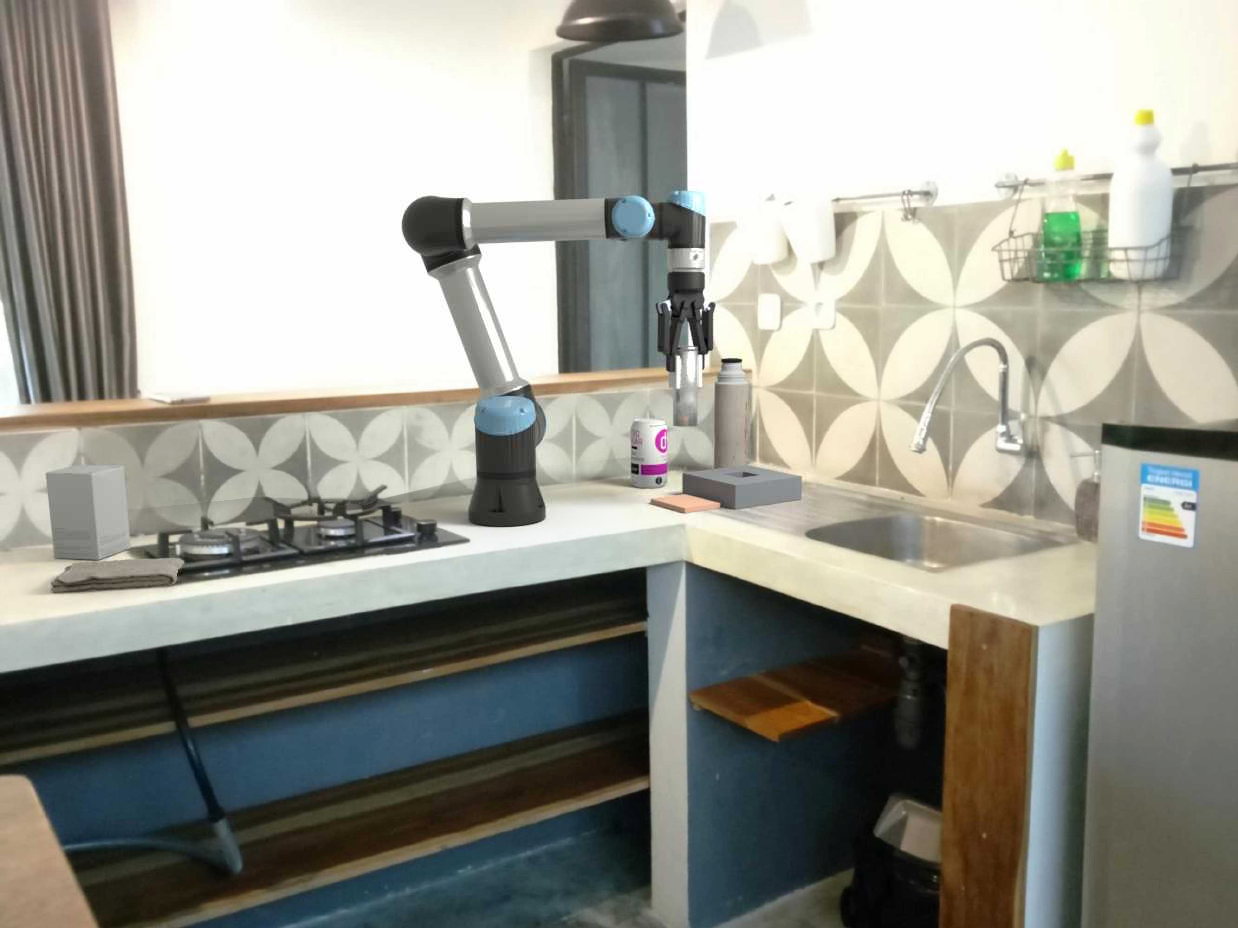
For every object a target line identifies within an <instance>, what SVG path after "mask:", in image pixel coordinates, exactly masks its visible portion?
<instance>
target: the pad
mask: <svg viewBox="0 0 1238 928" xmlns="http://www.w3.org/2000/svg"><path fill="white" fill-rule="evenodd" d="M651 504H652V505H654V506H657V507H662V508H665V509H668V510H672V511H676V512H680V513H683V514H689V513H695V512H701V511H708V510H715V509H721V506H720V503H718V502H714V501H710V500H706V499H702V498H698V497H695V496H691V495H687V494H677V495H676V494H674V495H668V496H663V497H661V496H660V497H654V498H653V497H652V498H650V505H651Z"/></svg>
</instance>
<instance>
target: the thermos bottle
mask: <svg viewBox="0 0 1238 928" xmlns="http://www.w3.org/2000/svg"><path fill="white" fill-rule="evenodd" d="M720 362H721V368H720V371H718V372H717V377H716V378H717V381H714V408H713V409H714V411H713V412H714V414H713V415H714V423H713V428H714V429H713V430H714V431H713V432H714V434H713V435H714V444H713V445H714V447H713V469H718V468H726V467H734V466H742V465H749V464H748V463H749V461H748V459H749V397H750V396H749V395H750V394H749V393H750V392H749V388H750V386H749V385H750V383H749V382H748V381H747V373H746V371H744V370H743V364H742V363H743V358H738V357H737V358H736V357H727V358H721V360H720Z"/></svg>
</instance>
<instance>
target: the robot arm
mask: <svg viewBox="0 0 1238 928" xmlns="http://www.w3.org/2000/svg"><path fill="white" fill-rule="evenodd" d="M706 213H707V212H706V196H705V195H704V193H703V192H701V191H697V190H680V191H679V190H675V191H670V192H668V194H667V199H666V201H659V202H657V201H656V202H653V201H651V202H649V201H648V200H646V199H645V198H644V197H641V196H639V195H626V196H624V197H610V198H609V197H608V198H604V197H603V198H602V197H600V198H580V199H579V198H577V199H576V198H575V199H546V200H543V199H542V200H521V201H520V200H518V201H496V202H495V201H494V202H493V201H492V202H473V201H471V199H469V198H468V197H445V196H444V197H443V196H436V195H426V196H421V197H419V198H417V199H415V200H413V201H412V202H411V203H410V204H409V205H408V206H407V207H406V209H405V210H404V213H403V215H402V219H401V232H402V235H403V238H404V240H405V243H407V245H408V247H410V248H411V249H412V250H413V252H415V253H417V254H419V255H420V257H421V260H422V263H423V264H424V268H425V271H426V273H427V275H428V276H429V277H431V278H434V279H436V280H437V281H438V283H439V286H440V289H441V291H442V294H443V296H444V299H445V301H446V305H447V307H448V309H449V312H450V314H451V318H452V320H453V323H454V325H455V328H456V331H457V333H458V336H459V339H460V341H461V344H462V347H463V349H464V353H465V355H466V357H467V360H468V363H469V365H470V368H471V371H472V374H473V376H474V378H475V381H476V384H477V387H478V389H479V394H478V396H477V399H476V400H475V401H476V405H475V409H474V416H473V423H474V436H475V437H474V438H475V440H474V441H475V469H476V472H475V473H476V480H475V484H474V487H473V492H472V495H471V498H470V502H469V505H468V512H467V513H468V521H470V522H471V523H473V524H476V525H483V526H491V527H492V526H493V527H510V526H511V527H512V526H513V527H514V526H523V525H530V524H534V523H538V522H542V521H544V520H546V518H547V510H546V509H547V508H546V503H545V501H544V498H543V494H542V491H541V489H540V486H539V483H538V479H537V457H536V456H537V455H536V452H537V451H536V449H537V447H538V446H539V445H541V442H542V441H543V439H544V437H545V434H546V430H547V417H546V414H545V411H544V409H543V408H542V406H541V405H540V404H539V402H538V401H537V399H536V397H535V394H534V392H533V388H532V386H531V384H530V381H528V380H525V379H524V378H522V377H521V376H520V375H519V372H518V369H517V367H516V364H515V361H514V359H513V356H512V354H511V351H510V348H509V345H508V342H507V340H506V337H505V334H504V331H503V329H502V326H501V324H500V322H499V318H498V317H497V313H496V310H495V308H494V305H493V302H492V300H491V297H490V295H489V292H488V289H487V286H486V284H485V281H484V279H483V275H482V273H481V269H480V267H479V264H480V262H481V260H482V259H483V258H482V257H483V255H482V252H481V249H480V248H481V247H480V246H479V245H481V244H482V245H484V244H486V245H487V244H504V243H505V244H510V243H535V242H539V243H540V242H558V241H559V242H560V241H561V242H563V241H564V242H565V241H584V240H585V241H588V240H610V241H616V242H617V241H618V242H623V243H625V242H646V241H647V242H648V241H651V242H652V241H659V242H661V241H667V253H666V254H667V256H666V257H667V258H666V259H667V260H666V261H667V262H666V263H667V264H666V268H667V269H668V270H669V271H670V272H668V273H667V275H666V277H667V283H666V286H667V287H666V289H667V291H668V296H667V298H666V300H664V301H663V302H656V303H655V309H656V314H657V349H656V350H657V352H658V353H661V354H662V355H663V356H665V370H666V372H668V388H670V389H673V388H676V389H679V388H680V356H675V355H676V353H677V349H678V346H679V343H680V338H681V334H682V328H683V324H684V323H685V321H686V322H687V323H688V326H689V331H690V336H691V341H692V346H698V388H703V371H704V370H705V365H706V364H705V360H706V359H705V357H706V356H705V355H708V354H709V352H711V351H713V350H714V313H715V310H716V309H715V308H716V302H714V301H708V300H706V299H705V295H704V290H705V288H706V273H705V272H704V271H703V270H704V269H705V268H706V224H707V222H706V221H707V220H706V217H707V216H706ZM670 312H671V313H670Z"/></svg>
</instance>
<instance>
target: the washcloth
mask: <svg viewBox="0 0 1238 928" xmlns="http://www.w3.org/2000/svg"><path fill="white" fill-rule="evenodd" d="M184 563H185V560H184V559H181V558H180V557H179V558H177V557H169V558H168V557H163V558H130V559H128V558H127V559H119V560H118V559H115V560H103V561H102V560H92V561H78V562H75V563H74V562H73V563H72V564H71V565H68V566H65V567H64V571H63V572H62V573H60V574H59V575H58V576H56V577H55V578H54V579H53V580H51V581H50V585H51V587H50V590H51V593H52V592H53V593H57V594H59V593H61V594H75V593H91V592H92V593H95V592H110V591H111V592H112V591H124V590H127V591H128V590H140V589H141V590H142V589H143V590H144V589H157V588H158V589H159V588H160V589H161V588H168V587H171V586H173V585H175V584H176V582H177V581H178V577H177V573H178V569H180V568H181V567H182V565H183V564H184Z"/></svg>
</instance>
